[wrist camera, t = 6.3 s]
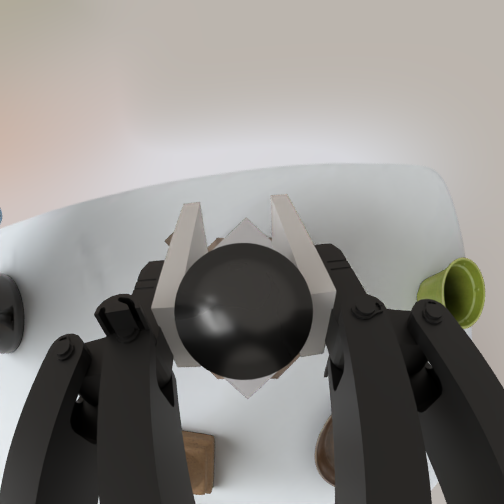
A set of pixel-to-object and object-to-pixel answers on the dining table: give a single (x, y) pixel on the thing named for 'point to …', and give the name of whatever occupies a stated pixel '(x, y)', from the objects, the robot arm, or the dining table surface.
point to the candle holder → (200, 461)
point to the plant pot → (457, 291)
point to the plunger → (243, 311)
